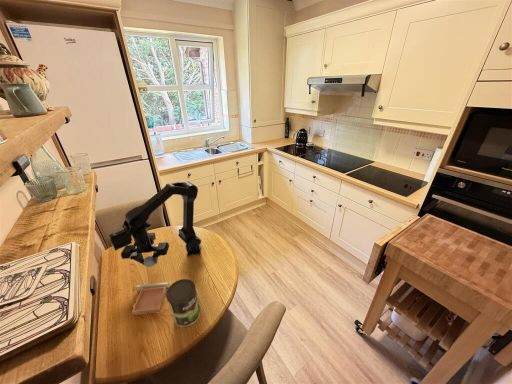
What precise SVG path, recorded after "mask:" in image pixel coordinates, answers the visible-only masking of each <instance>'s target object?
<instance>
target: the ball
mask: <svg viewBox="0 0 512 384" xmlns="http://www.w3.org/2000/svg"><path fill="white" fill-rule="evenodd" d="M152 256H153V255H148V256H146V257H145V258H144V265H143V266H145V267H146V268H152V267H154V265H156V264H155V262H154V260H153V258H152Z"/></svg>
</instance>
